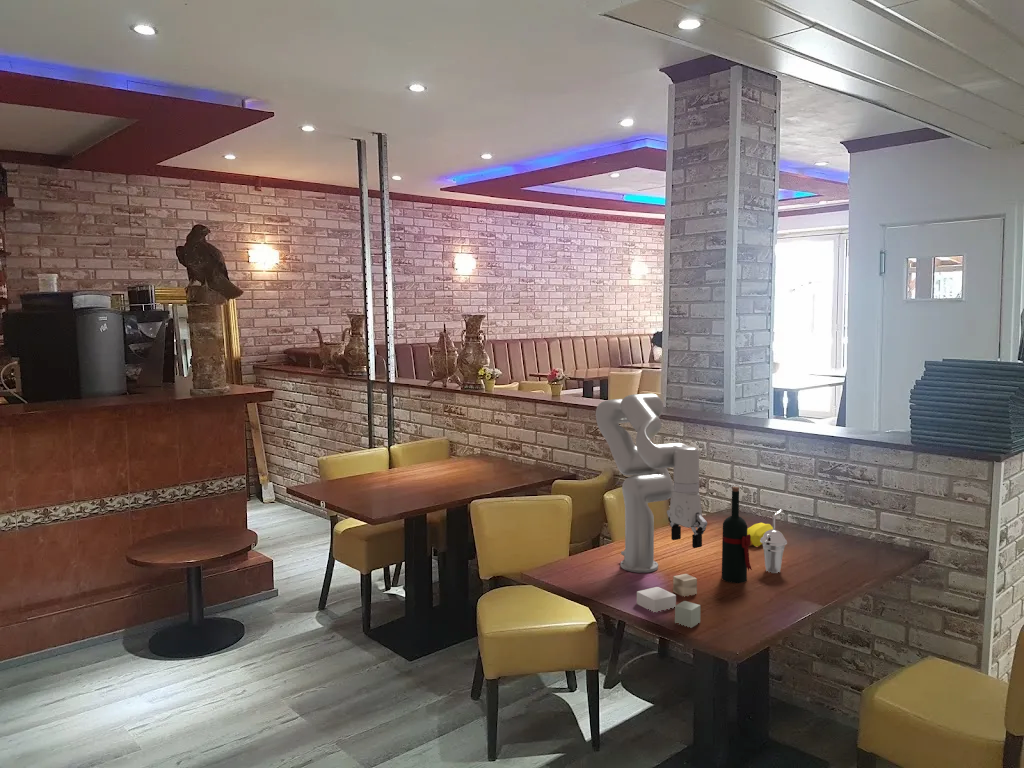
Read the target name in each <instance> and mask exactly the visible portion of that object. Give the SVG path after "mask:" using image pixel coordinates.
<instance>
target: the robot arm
mask: <svg viewBox="0 0 1024 768" xmlns="http://www.w3.org/2000/svg"><path fill="white" fill-rule="evenodd" d="M663 413H664V403H663V401H662V399H661V397H660V396H659V395H657V394H655V393H639V394H638V393H634V394H629V395H627V396H625V397H624V398H616V399H615V398H613V399H607V400H603V401H601V402H600V403H599V404H598V405H597V407H596V410H595V420H596V425H597V427H598V430H599V432H600V433H601V435H602V436H603V438H604V439H605V440H604V441H606V443H607V445H608V447H609V450H610V452H611V455H612V458H613V460H614V463H615V465H616V467H617V469H618V471H619V473H620V474H622V475H623V476H628V477H626V478H625V479H624V480H623V483H622V484H621V485H622V486H621V491H622V496H623V502H624V519H625V520H624V522H625V525H624V527H625V528H624V529H625V530H624V531H625V532H624V534H625V535H624V547H625V548H624V550H621V551H620V555H622V556H623V560H621V561H620V568H621V569H622V570H624V571H627V572H632V573H640V574H643V573H653V572H655V571H656V570H658V569H659V564H658V562H657V561H656V560H654V558H655V557H654V556H655V555H654V552H655V551H654V547H655V545H654V544H655V543H654V542H655V540H654V539H655V538H654V537H655V526H654V525H655V524H654V523H655V521H654V520H655V519H654V518H655V517H654V513H653V511H652V509H651V508H650V507H649V505H648V504H649V503H654V502H663V501H668V500H669V499H670V503H669V509H668V510H666V514H667V518H668V519H667V520H668V522H669V526H670V527H671V528H670V529H671V532H670V533H671V540H672V541H676V540H677V541H678V540H680V539H681V538H682V536H681V535H682V533H681V532H682V531H681V530H682V529H681V527H685V528H689V529H690V528H691V531H692V533H693V534H692V536H691V537H692V538H691V539H692V541H691V544H692V548H693V549H697V548H702V547H703V534H704V533H705V531H706V529H707V525H708V522H707V520H706V519H705V518H704V517H703V511H702V509H703V508H702V501H701V500H702V499H701V495H700V451H699V449H698V448H697V447H694V446H688V445H686V444H685V443H682V442H671V443H668V442H667V443H659V444H658V443H657V444H654V443H653V442H652V441H651V439H653V438H654V437H655V436H657V435H658V433H659V432H660V431H661V429H662V420H661V419H660V417H661V415H662V414H663ZM622 423H623V424H625V423H630V425H631V426H632V428H633V430H635V432H636V437H635V442H634V440H633V438H632V435H631V434H630V433H629V431H628V430H626V429H625V427H623V426H622V425H620V424H622ZM669 468H673V478H672V477H671V474H670V472H669V470H668V469H669ZM672 479H673V480H672Z"/></svg>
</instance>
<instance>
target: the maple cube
mask: <svg viewBox="0 0 1024 768" xmlns="http://www.w3.org/2000/svg"><path fill="white" fill-rule="evenodd" d="M672 577H673V580H672V584H673V586H672V593H675V594H677V595H679V596H681V597H683V596H684V597H683V598H685V596H687V597H690V596H689V595H691V596H695V594H696V595H697V594H698V578H696V577H695V576H692V575H690V574H688V573H682V574H678V575H673V576H672Z"/></svg>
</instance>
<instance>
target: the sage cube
mask: <svg viewBox="0 0 1024 768" xmlns="http://www.w3.org/2000/svg"><path fill="white" fill-rule="evenodd" d="M676 623H679V624H678V625H680V624H681V625H680V626H683V625H684V626H683V627H686V626H687V628H689V627H690V628H691V629H692V628H694V627H696V626H697V625H698V623H699V624H700V623H701V604H697V603H695V602H691V601H687V600H683V601H681V602H680V603H678V604H677V603H676V606H675V608H674V624H676ZM690 628H689V629H690Z"/></svg>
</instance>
